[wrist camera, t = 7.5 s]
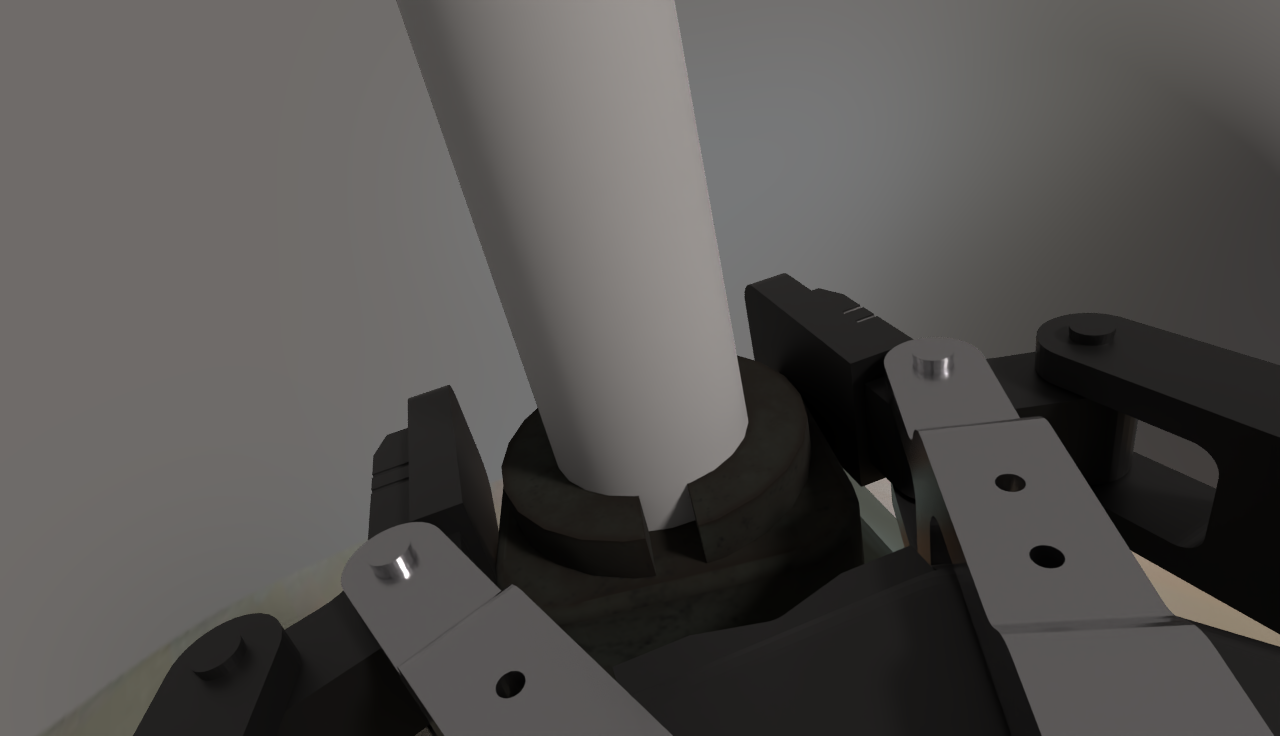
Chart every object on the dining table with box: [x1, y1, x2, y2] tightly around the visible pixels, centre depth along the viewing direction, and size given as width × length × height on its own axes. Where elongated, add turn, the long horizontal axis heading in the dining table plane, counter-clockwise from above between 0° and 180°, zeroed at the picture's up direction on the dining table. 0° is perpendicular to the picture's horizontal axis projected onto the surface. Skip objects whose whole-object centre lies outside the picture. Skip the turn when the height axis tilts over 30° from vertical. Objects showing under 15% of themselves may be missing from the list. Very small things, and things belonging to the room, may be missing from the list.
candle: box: [396, 0, 865, 682], centre depth 11 cm, size 5×5×25 cm
